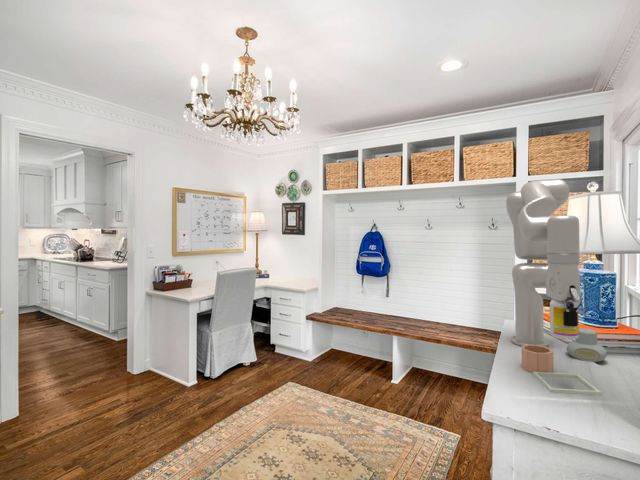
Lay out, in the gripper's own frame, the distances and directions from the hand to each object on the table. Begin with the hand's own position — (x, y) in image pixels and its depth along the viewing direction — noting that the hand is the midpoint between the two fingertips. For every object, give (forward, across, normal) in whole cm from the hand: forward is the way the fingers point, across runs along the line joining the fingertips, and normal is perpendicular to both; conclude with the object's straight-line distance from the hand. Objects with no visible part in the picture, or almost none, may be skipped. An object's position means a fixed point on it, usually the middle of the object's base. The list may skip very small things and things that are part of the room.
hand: (563, 322), depth 98 cm
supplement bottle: (+4, 0, 0) cm, 4 cm away
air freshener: (+19, -24, +17) cm, 35 cm away
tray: (+18, 0, 0) cm, 18 cm away
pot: (+18, -11, -3) cm, 22 cm away
